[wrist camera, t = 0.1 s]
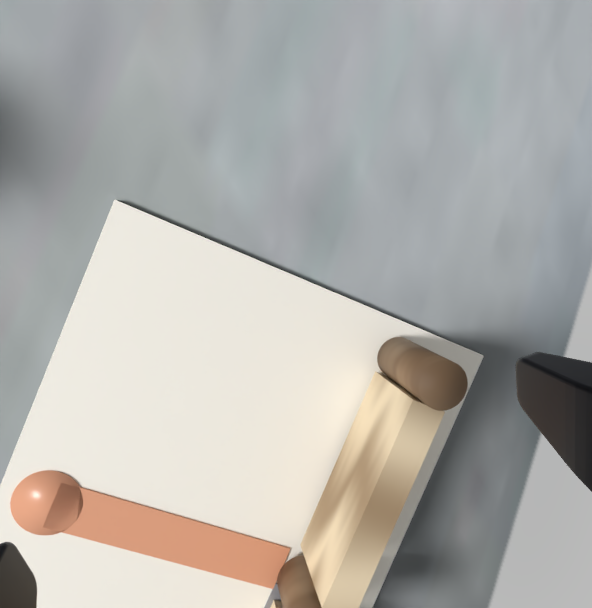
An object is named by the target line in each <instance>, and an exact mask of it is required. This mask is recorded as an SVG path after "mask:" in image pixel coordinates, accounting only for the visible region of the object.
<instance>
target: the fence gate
mask: <svg viewBox="0 0 592 608" xmlns="http://www.w3.org/2000/svg"><path fill="white" fill-rule="evenodd" d="M377 362H378V366H379V368H380V370H381V371H382V372H383V373H384V374H385V375H384V374H381V373H378V372H376V371H375V373H374V375H373V378H372V380H371V382H370V385H369V387H368V389H367V392H366V394H365V396H364V399H363V401H362V403H361V405H360V408H359V410H358V412H357V415H356V417H355V419H354V422H353V424H352V426H351V429H350V431H349V433H348V435H347V438H346V440H345V442H344V445H343V447H342V449H341V452H340V454H339V456H338V459H337V461H336V463H335V466H334V468H333V470H332V472H331V475H330V477H329V479H328V482H327V484H326V486H325V489H324V491H323V493H322V496H321V498H320V500H319V503H318V505H317V507H316V509H315V512H314V514H313V516H312V519H311V521H310V523H309V526H308V528H307V530H306V533H305V535H304V537H303V540H302V542H301V544H300V545H301V548H302V551H303V554H304V555H301V556H297V557H294V558H292V559H290V560H288V561H287V562H286V563H285V564H284V565H283V566H282V568H281V569H280V571H279V573H278V577H277V585H278V589H279V594H280V598H281V602H282V606H283V608H359V606H360V604H361V601H362V599H363V597H364V595H365V592H366V590H367V588H368V586H369V583H370V581H371V579H372V577H373V574H374V572H375V570H376V567H377V565H378V563H379V561H380V558H381V556H382V554H383V552H384V549H385V547H386V545H387V543H388V540H389V538H390V536H391V533H392V531H393V529H394V527H395V524H396V522H397V520H398V518H399V515H400V513H401V511H402V509H403V506H404V504H405V502H406V499H407V497H408V495H409V493H410V490H411V488H412V486H413V484H414V481H415V479H416V477H417V475H418V472H419V470H420V468H421V466H422V463H423V461H424V459H425V456H426V454H427V452H428V450H429V447H430V445H431V443H432V441H433V438H434V436H435V434H436V432H437V429H438V427H439V425H440V422H441V420H442V418H443V416H444V413H445V412H444V411H445V410H449V409H452V408H454V407H455V406H457V405H458V404H459V403H460V402H461V401H462V399H463V398H464V396H465V394H466V391H467V387H468V380H467V376H466V373H465V371H464V370H463V368H462V367H461V366H460V365H458V364H457V363H455V362H453V361H451V360H448V359H446V358H444V357H442V356H440V355H438V354H436V353H434V352H432V351H430V350H428V349H426V348H424V347H422V346H420V345H418V344H416V343H414V342H412V341H410V340H408V339H406V338H403V337H394V338H391V339H389V340H387V341H386V342H385V343H384V344H383V345H382V346H381V347H380V349H379V352H378V356H377Z"/></svg>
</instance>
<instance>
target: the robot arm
mask: <svg viewBox="0 0 592 608" xmlns="http://www.w3.org/2000/svg"><path fill="white" fill-rule="evenodd" d="M516 383H517V397H518V401H519V403H520V405H521V407H522V409H523V410H524V411H525V412H526V414H527V415H528V416H529V418H530V419H531V420H532V421H533V423H534V424H535V425H536V426H537V428H538V429H539V430H540V431H541V433H542V434H543V435H544V436H545V438H546V439H547V440H548V441H549V443H550V444H551V445H552V446H553V448H554V449H555V450H556V451H557V453H558V454H559V455H560V456H561V458H562V459H563V460H564V462H565V463H566V464H567V465H568V466H569V467H570V469H571V470H572V471H573V472H574V473H575V474H576V476H577V477H578V478H579V479H580V480H581V481H582V482H583V483H584V484H585V485H586V486H587V487H588V488H589V489H590V490H591V491H592V363H590V362H586V361H581V360H576V359H571V358H566V357H561V356H556V355H552V354H547V353H542V352H536V353H533V354H530V355H527V356H524V357H522V358H520V359H518V361H517V363H516ZM0 608H37V583H36V579H35V576H34V574H33V572H32V571H31V569H30V568H29V566H28V565H27V563H26V561H25V560H24V558H23V557H22V555H21V553H20V552H19V550H18V549H17V547H16V546H15V545H14V544H13V543H11V542H3V543H1V544H0Z"/></svg>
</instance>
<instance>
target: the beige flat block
mask: <svg viewBox="0 0 592 608" xmlns="http://www.w3.org/2000/svg"><path fill="white" fill-rule="evenodd" d="M270 608H283V606H282V602H281V601H278V600H273V603H272V605H271V607H270Z"/></svg>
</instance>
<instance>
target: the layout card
mask: <svg viewBox="0 0 592 608" xmlns="http://www.w3.org/2000/svg"><path fill="white" fill-rule="evenodd" d="M394 337H403V338H406V339H408V340H410V341H412V342H414V343H416V344H418V345H420V346H422V347H424V348H426V349H428V350H430V351H432V352H434V353H436V354H438V355H440V356H442V357H444V358H446V359H448V360H451V361H453V362H455V363H457V364H458V365H460V366H461V367H462V368H463V370H464V371H465V373H466V376H467V380H468V387H467V391H466V394H465V396H464V398H463V399H462V401H461V402H460V403H459V404H458V405H457V406H455V407H454V408H452V409H449V410H445V411H444V412H445V413H444V416H443V418H442V420H441V422H440V425H439V427H438V429H437V432H436V434H435V436H434V438H433V441H432V443H431V445H430V447H429V450H428V452H427V454H426V456H425V459H424V461H423V463H422V466H421V468H420V470H419V472H418V475H417V477H416V479H415V481H414V484H413V486H412V488H411V490H410V493H409V495H408V497H407V499H406V502H405V504H404V506H403V509H402V511H401V513H400V515H399V518H398V520H397V522H396V524H395V527H394V529H393V531H392V533H391V536H390V538H389V540H388V543H387V545H386V547H385V549H384V552H383V554H382V556H381V558H380V561H379V563H378V565H377V567H376V570H375V572H374V574H373V577H372V579H371V581H370V583H369V586H368V588H367V590H366V592H365V595H364V597H363V599H362V601H361V604H360V606H359V608H373V605H374V603H375V601H376V599H377V596H378V594H379V592H380V590H381V587H382V585H383V583H384V581H385V578H386V576H387V574H388V571H389V569H390V567H391V565H392V562H393V560H394V558H395V556H396V553H397V551H398V549H399V547H400V544H401V542H402V540H403V538H404V535H405V533H406V531H407V529H408V526H409V524H410V522H411V520H412V517H413V515H414V513H415V510H416V508H417V506H418V504H419V501H420V499H421V497H422V495H423V492H424V490H425V488H426V486H427V483H428V481H429V479H430V477H431V474H432V472H433V470H434V468H435V465H436V463H437V461H438V459H439V456H440V454H441V452H442V450H443V447H444V445H445V443H446V440H447V438H448V436H449V434H450V431H451V429H452V427H453V425H454V422H455V420H456V418H457V416H458V413H459V411H460V409H461V407H462V404H463V402H464V400H465V398H466V395H467V393H468V391H469V389H470V386H471V384H472V382H473V380H474V377H475V375H476V373H477V370H478V368H479V366H480V364H481V361H482V359H483V357H484V355H481V354H479V353H477V352H474V351H472V350H470V349H467V348H465V347H462V346H460V345H458V344H455V343H453V342H451V341H448V340H446V339H444V338H441V337H439V336H436V335H434V334H432V333H429V332H427V331H425V330H422V329H420V328H418V327H415V326H413V325H410V324H408V323H406V322H403V321H401V320H399V319H396V318H394V317H391V316H389V315H387V314H384V313H382V312H380V311H377V310H375V309H373V308H370V307H368V306H365V305H363V304H361V303H358V302H356V301H354V300H351V299H349V298H346V297H344V296H342V295H339V294H337V293H335V292H332V291H330V290H328V289H325V288H323V287H320V286H318V285H316V284H313V283H311V282H309V281H306V280H304V279H301V278H299V277H297V276H294V275H292V274H290V273H287V272H285V271H283V270H280V269H278V268H275V267H273V266H271V265H268V264H266V263H264V262H261V261H259V260H256V259H254V258H252V257H249V256H247V255H245V254H242V253H240V252H238V251H235V250H233V249H230V248H228V247H226V246H223V245H221V244H219V243H216V242H214V241H212V240H209V239H207V238H204V237H202V236H200V235H197V234H195V233H193V232H190V231H188V230H185V229H183V228H181V227H178V226H176V225H174V224H171V223H169V222H167V221H164V220H162V219H159V218H157V217H155V216H152V215H150V214H148V213H145V212H143V211H140V210H138V209H136V208H133V207H131V206H129V205H126V204H124V203H122V202H119V201H117V200H114V202H113V205H112V207H111V210H110V212H109V215H108V217H107V220H106V222H105V225H104V227H103V230H102V232H101V235H100V237H99V240H98V242H97V245H96V247H95V250H94V252H93V255H92V257H91V260H90V262H89V265H88V267H87V270H86V272H85V275H84V277H83V280H82V282H81V285H80V287H79V290H78V292H77V295H76V297H75V300H74V302H73V305H72V307H71V310H70V312H69V315H68V317H67V320H66V322H65V325H64V327H63V330H62V332H61V335H60V337H59V340H58V342H57V345H56V347H55V350H54V352H53V355H52V357H51V360H50V362H49V365H48V367H47V370H46V372H45V375H44V377H43V380H42V382H41V385H40V387H39V390H38V392H37V395H36V397H35V400H34V402H33V405H32V407H31V410H30V412H29V415H28V417H27V420H26V422H25V425H24V427H23V430H22V432H21V435H20V437H19V440H18V442H17V445H16V447H15V450H14V452H13V455H12V457H11V460H10V462H9V465H8V467H7V470H6V472H5V475H4V477H3V480H2V483H1V485H0V544H1V543H3V542H11V543H13V544H14V545H15V546H16V547H17V549H18V550H19V552H20V553H21V555H22V557H23V558H24V560H25V561H26V563H27V565H28V566H29V568H30V569H31V571H32V572H33V574H34V576H35V579H36V583H37V608H270V607H271V605H272V603H273V600H278V601H281V598H280V594H279V589H278V585H277V577H278V573H279V571H280V569H281V568H282V566H283V565H284V564H285V563H286V562H287V561H288V560H290V559H292V558H294V557H297V556H301V555H304V554H303V551H302V548H301V545H300V544H301V542H302V540H303V537H304V535H305V533H306V530H307V528H308V526H309V523H310V521H311V519H312V516H313V514H314V512H315V509H316V507H317V505H318V503H319V500H320V498H321V496H322V493H323V491H324V489H325V486H326V484H327V482H328V479H329V477H330V475H331V472H332V470H333V468H334V466H335V463H336V461H337V459H338V456H339V454H340V452H341V449H342V447H343V445H344V442H345V440H346V438H347V435H348V433H349V431H350V429H351V426H352V424H353V422H354V419H355V417H356V415H357V412H358V410H359V408H360V405H361V403H362V401H363V399H364V396H365V394H366V392H367V389H368V387H369V385H370V382H371V380H372V378H373V375H374V373H375V371H376V372H378V373H381V374H384V373H383V372H382V371H381V370H380V368H379V366H378V362H377V356H378V352H379V349H380V347H381V346H382V345H383V344H384V343H385V342H386V341H387V340H389V339H391V338H394ZM384 375H385V374H384Z"/></svg>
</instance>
